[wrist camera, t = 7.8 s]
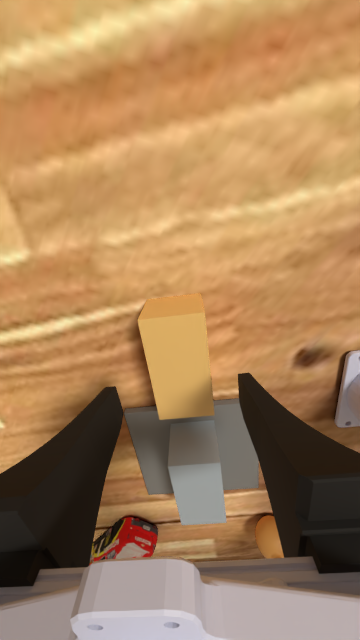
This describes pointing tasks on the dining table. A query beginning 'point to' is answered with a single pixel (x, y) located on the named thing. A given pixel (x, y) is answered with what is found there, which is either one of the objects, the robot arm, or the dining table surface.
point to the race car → (125, 541)
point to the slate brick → (196, 473)
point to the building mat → (231, 440)
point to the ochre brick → (177, 355)
